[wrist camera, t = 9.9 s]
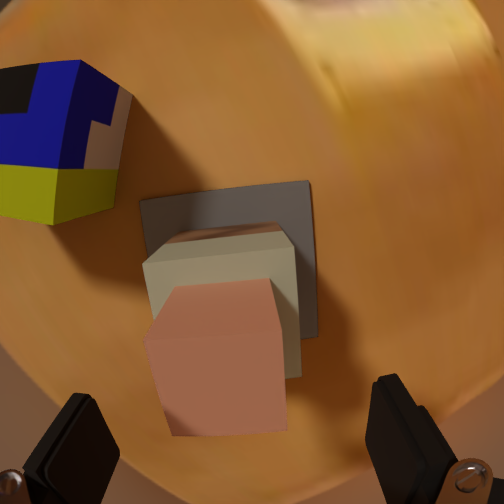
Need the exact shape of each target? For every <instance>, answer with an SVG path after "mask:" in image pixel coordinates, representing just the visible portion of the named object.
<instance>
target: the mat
mask: <svg viewBox="0 0 504 504" xmlns="http://www.w3.org/2000/svg"><path fill="white" fill-rule="evenodd" d="M139 204H140V211H141V218H142V224H143V231H144V237H145V243H146V249H147V254H148V258H149V257H150V256H151V255H152V254H154V253H155V252H156V251H157V250H158V249H159V248H160V247H161V246H163V245H164V244H165V243H166V242H167V241H168V240H170V239H171V238H172V237H173V236H174V235H175V234H176V233H178V232H181V231H190V230H198V229H206V228H214V227H223V226H232V225H241V224H249V223H259V222H268V221H276V222H277V223H278V225H279V226H280V228H281V229H282V230H283V232H284V233H285V235H286V236H287V237H288V239H289V240H290V242H291V243H292V245H293V246H294V252H295V265H296V279H297V293H298V309H299V325H300V339H307V338H314V337H318V315H317V291H316V271H315V254H314V239H313V225H312V213H311V201H310V189H309V180H307V181H295V182H284V183H273V184H263V185H254V186H245V187H236V188H227V189H219V190H211V191H203V192H196V193H188V194H181V195H174V196H167V197H161V198H154V199H148V200H141V201H139Z"/></svg>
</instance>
